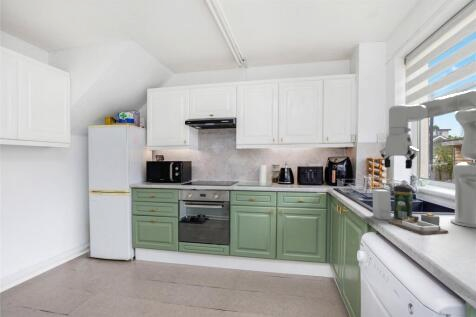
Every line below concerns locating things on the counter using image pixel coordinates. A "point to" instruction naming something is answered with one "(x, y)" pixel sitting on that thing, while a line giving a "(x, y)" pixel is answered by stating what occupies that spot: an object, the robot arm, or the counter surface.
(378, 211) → the skincare box
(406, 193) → the coffee jar
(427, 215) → the connector block
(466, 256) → the counter surface
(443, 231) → the board
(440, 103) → the robot arm
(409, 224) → the end holder
